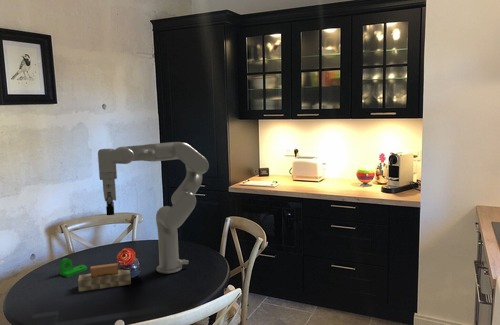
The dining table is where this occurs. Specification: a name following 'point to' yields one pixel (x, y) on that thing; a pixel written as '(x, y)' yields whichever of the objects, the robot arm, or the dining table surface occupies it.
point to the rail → (104, 280)
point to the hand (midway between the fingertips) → (110, 212)
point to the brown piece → (104, 269)
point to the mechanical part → (70, 268)
